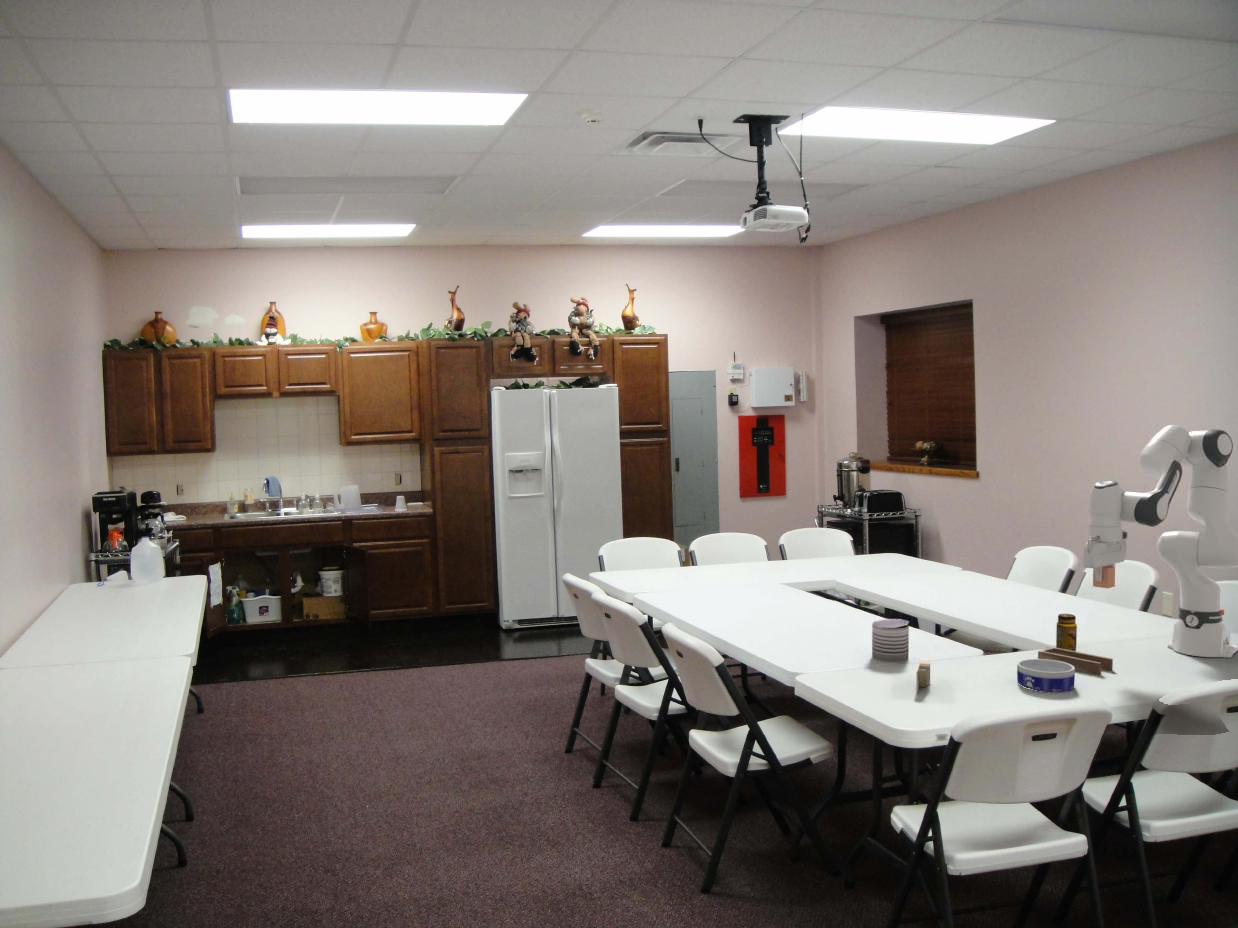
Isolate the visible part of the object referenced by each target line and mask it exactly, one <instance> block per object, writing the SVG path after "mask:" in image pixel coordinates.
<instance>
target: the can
mask: <svg viewBox="0 0 1238 928" xmlns="http://www.w3.org/2000/svg"><path fill="white" fill-rule="evenodd" d="M909 623H910V621H909V620H907V619H901V618H884V619H881V620H875V621H873V622H872V624H871V626H872V627H871V628H872V633H871V634H872V635H871V639H872V640H871V641H872V642H871V646H872V647H871V654H872V655H871V658H872V659H873V660H874V661H877V662H881V663H887V664H899V663H901V664H902V663H905V662H907V661H909V649H910V647H909V641H910V639H909V637H910V636H909V635H910V634H909V632H910V629H909V627H910V626H909Z"/></svg>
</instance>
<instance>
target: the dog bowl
mask: <svg viewBox="0 0 1238 928" xmlns="http://www.w3.org/2000/svg"><path fill="white" fill-rule="evenodd" d="M1016 669H1017V670H1016V671H1017V672H1016V678H1017V679H1016V680H1017V684H1018V683H1019V684H1020V685H1022V686H1024V687H1026V688H1030V689H1033V690H1032V691H1034V690H1037V691H1036V692H1039V691H1043V692H1042V693H1048V692H1050V693H1051V694H1057V693H1067V692H1071V691H1073V690H1074V688H1075V675H1076V673H1075V672H1076V670H1075V668H1074V666H1072V665H1071V664H1068V663H1065V662H1061V661H1056V660H1048V659H1038V658H1029V659H1022V660H1018V662H1017V663H1016ZM1019 684H1018V685H1019ZM1020 685H1019V686H1020ZM1026 688H1025V689H1026Z"/></svg>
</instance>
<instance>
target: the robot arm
mask: <svg viewBox="0 0 1238 928" xmlns="http://www.w3.org/2000/svg"><path fill="white" fill-rule="evenodd" d="M1233 448H1234V445H1233V440H1232V437H1231V436H1230V435H1229V434H1228V433H1227V431H1225V430H1222V429H1215V428H1212V429H1209V430H1207V429H1201V430H1192V431H1188V430H1187V429H1186V428H1184V426H1181V425H1179V424H1178V425H1177V424H1170V425H1169V424H1168V425H1166V426H1165V427H1163V428H1162V429H1160V430H1159V431H1158V432H1156V434H1155V435H1153V437H1151V439H1150V440H1149V441H1148V442H1147V443H1146V445H1145V446H1144V447H1143V449H1142V450H1141V452H1140V454H1139V465H1140V466H1141V468H1142V469H1143V471H1144V472H1145V473H1146V474H1147V475H1148V476H1149V477H1152V478H1153V479H1156V480H1158V481H1157V483H1156V486H1155V488H1154V490H1151V491H1146V492H1140V491H1139V492H1138V491H1128V490H1125V489H1123V488H1121V486H1120V483H1119V482H1117V481H1114V480H1105V481H1098V482H1096V483H1094V484H1093V485H1092V487H1091V491H1090V494H1089V503H1088V504H1089V510H1088V511H1089V515H1090V520H1089V522H1088V541H1087V542H1086V543H1085V544H1084V549H1083V558H1082V564H1083V565H1082V566H1083V567H1084V568H1087V569H1092V571H1093V570H1094V573H1095V580H1096V581H1102V580H1103V575H1102V571H1101V570H1102V567H1103V566H1110V567H1115V568H1116V564H1118V563H1124V562H1125V560H1126V557H1127V540H1128V537H1129V533H1128V531H1126V530H1124V529H1122V523H1126V524H1127V523H1129V524H1136V525H1137V524H1138V525H1141V526H1148V527H1156V526H1158V525H1160V524H1161V523H1163V522H1164V521H1165V520H1166V518H1167V516H1168V512H1169V508H1170V504H1171V502H1172V500H1173V498H1174V496H1175V494H1176V491H1177V489H1178V487H1179V484H1180V482H1181V480H1182V476H1183V468H1182V467H1191V470H1192V473H1191V476H1190V480H1189V484H1188V486H1189V487H1188V494H1187V503H1186V512H1187V515H1188V517H1190V518H1191V519H1192V520H1194V521H1195V522H1197V523H1198V524H1199V523H1200V524H1201V525H1203V526H1204V527H1205V530H1204V531H1201V532H1200V531H1189V530H1187V531H1186V530H1174V531H1173V530H1172V531H1165V532H1163V533H1162V534H1161V535H1160V536H1159V537H1158V539H1157V541H1156V552H1157V555H1158V556H1159V558H1160V559H1161V560H1162V561H1163V562H1165V563H1166V564H1167V565H1168V566H1169V567H1170V568H1171V569H1172V570H1173V572H1174V573H1175V575H1176V578H1177V580H1178V585H1179V594H1180V595H1179V596H1180V603H1179V604H1180V606H1179V607H1178V610H1177V613H1178V615H1177V616H1178V620H1177V621H1175V622H1174V623H1173V631H1172V639H1171V640H1172V641H1171V642H1169V643H1167V647H1168V648H1169V649H1172V650H1173V651H1175V652H1177V653H1180V654H1183V655H1189V656H1194V657H1201V658H1232V657H1233V656H1234V655H1235V654H1236V653H1235V652H1238V645H1236V644H1234V643H1233V644H1232V643H1231V631H1230V630H1229V629H1228V627H1227V626H1226V625H1225V624H1224V623H1223V616H1224V615H1225V609H1224V608H1222V609H1221V587H1220V585H1219V584H1218V583H1217V582H1216V581H1215V580H1213V579H1212V578H1210V577H1208V576H1206V575H1205V574H1203V572H1202V570H1201V568H1200V567H1202V568H1203V567H1204V568H1205V567H1206V568H1215V569H1233V568H1238V533H1236V532H1235V531H1234V529H1233V528H1232V526H1231V525H1230V523H1229V519H1228V514H1227V513H1228V511H1227V510H1228V508H1227V507H1228V496H1229V495H1228V494H1229V470H1228V466H1227V463H1228V462H1229V459H1230V458H1231V455H1232V453H1233ZM1234 653H1235V654H1234ZM1233 654H1234V655H1233Z"/></svg>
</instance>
